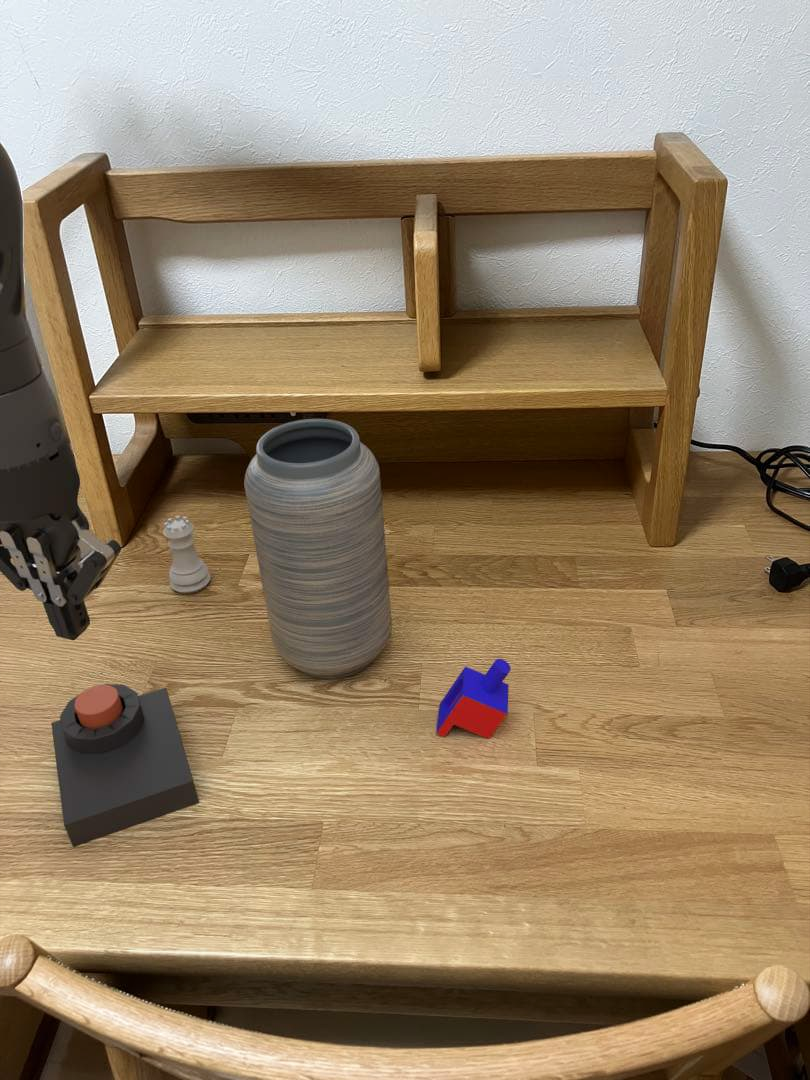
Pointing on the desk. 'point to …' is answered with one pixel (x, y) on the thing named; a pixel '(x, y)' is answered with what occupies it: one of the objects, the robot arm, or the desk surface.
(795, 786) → the desk surface
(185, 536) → the rook chess piece
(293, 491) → the vase
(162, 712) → the button box
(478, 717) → the toy building block
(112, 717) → the button
